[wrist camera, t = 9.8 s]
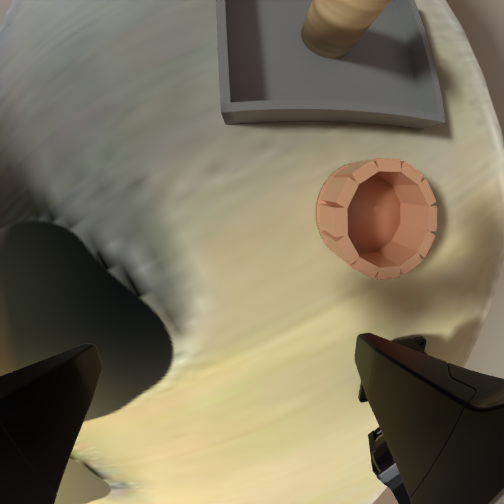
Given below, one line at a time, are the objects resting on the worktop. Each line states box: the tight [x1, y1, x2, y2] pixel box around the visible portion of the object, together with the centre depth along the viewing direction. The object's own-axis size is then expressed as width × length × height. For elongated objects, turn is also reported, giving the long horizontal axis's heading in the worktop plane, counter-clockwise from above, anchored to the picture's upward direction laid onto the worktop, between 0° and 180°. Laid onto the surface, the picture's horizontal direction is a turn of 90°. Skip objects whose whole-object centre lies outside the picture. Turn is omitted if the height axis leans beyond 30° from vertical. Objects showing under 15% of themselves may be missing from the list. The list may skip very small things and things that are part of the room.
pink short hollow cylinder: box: [316, 158, 437, 280], centre depth 19 cm, size 8×8×4 cm
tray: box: [216, 0, 446, 129], centre depth 16 cm, size 14×16×4 cm
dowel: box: [301, 0, 392, 59], centre depth 12 cm, size 4×4×10 cm
